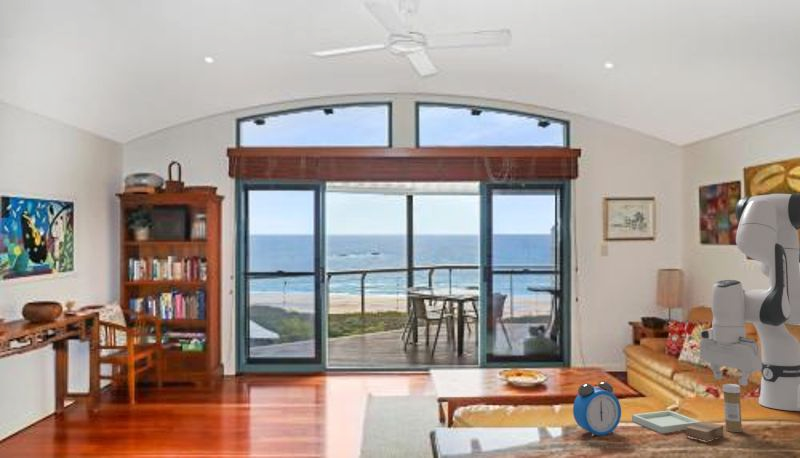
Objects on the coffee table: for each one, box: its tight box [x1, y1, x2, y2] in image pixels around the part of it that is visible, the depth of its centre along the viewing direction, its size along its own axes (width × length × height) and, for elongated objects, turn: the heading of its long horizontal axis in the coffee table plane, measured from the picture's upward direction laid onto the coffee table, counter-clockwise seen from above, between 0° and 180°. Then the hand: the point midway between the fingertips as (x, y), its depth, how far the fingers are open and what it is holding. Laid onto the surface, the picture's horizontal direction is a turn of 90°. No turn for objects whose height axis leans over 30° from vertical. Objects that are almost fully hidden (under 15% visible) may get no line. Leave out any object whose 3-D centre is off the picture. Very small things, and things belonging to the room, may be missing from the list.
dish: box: [631, 410, 701, 434], centre depth 188 cm, size 14×14×2 cm
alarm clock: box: [572, 381, 622, 436], centre depth 182 cm, size 13×6×15 cm, turn 107°
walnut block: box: [685, 420, 724, 441], centre depth 175 cm, size 9×6×3 cm, turn 125°
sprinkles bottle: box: [722, 383, 743, 433], centre depth 180 cm, size 5×5×14 cm
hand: (730, 381), depth 180 cm, fingers open, 8 cm apart
